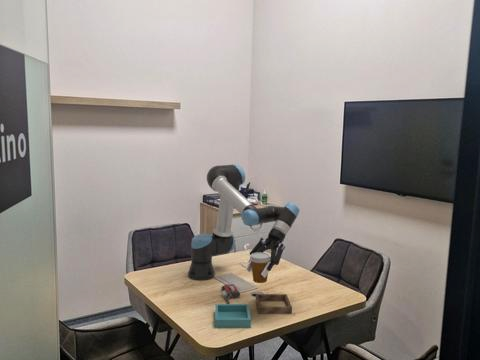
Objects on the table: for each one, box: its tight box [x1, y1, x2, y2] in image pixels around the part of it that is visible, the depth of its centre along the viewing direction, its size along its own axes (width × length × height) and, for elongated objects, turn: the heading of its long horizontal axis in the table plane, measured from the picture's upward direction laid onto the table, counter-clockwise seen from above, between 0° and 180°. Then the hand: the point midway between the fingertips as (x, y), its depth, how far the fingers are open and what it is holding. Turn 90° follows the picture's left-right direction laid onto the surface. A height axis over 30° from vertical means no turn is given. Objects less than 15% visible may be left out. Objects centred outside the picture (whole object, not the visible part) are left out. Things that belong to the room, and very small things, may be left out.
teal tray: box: [214, 303, 252, 329], centre depth 184 cm, size 15×15×4 cm
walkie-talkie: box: [221, 283, 241, 304], centre depth 209 cm, size 9×4×20 cm
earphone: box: [241, 243, 266, 272], centre depth 255 cm, size 14×17×18 cm
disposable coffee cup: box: [249, 252, 271, 284], centre depth 188 cm, size 10×10×12 cm
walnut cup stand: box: [255, 293, 293, 315], centre depth 198 cm, size 15×15×3 cm
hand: (255, 273), depth 186 cm, fingers closed on disposable coffee cup, 9 cm apart
